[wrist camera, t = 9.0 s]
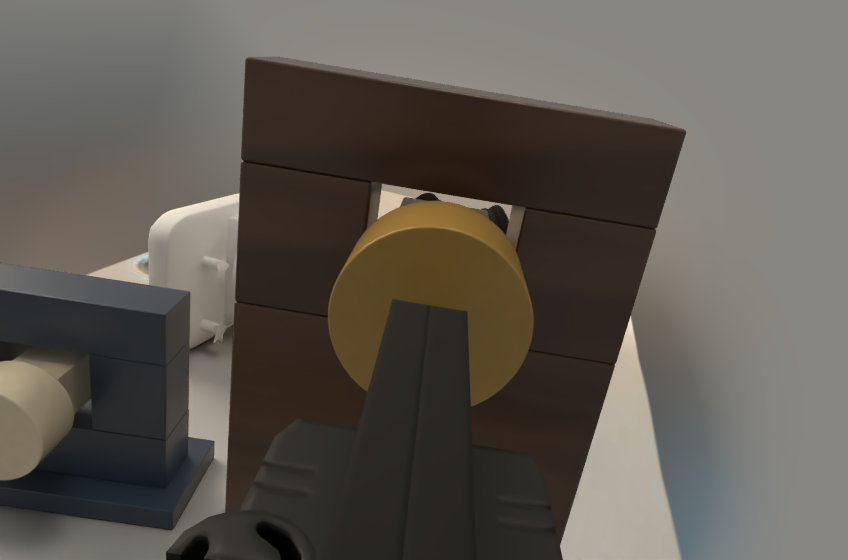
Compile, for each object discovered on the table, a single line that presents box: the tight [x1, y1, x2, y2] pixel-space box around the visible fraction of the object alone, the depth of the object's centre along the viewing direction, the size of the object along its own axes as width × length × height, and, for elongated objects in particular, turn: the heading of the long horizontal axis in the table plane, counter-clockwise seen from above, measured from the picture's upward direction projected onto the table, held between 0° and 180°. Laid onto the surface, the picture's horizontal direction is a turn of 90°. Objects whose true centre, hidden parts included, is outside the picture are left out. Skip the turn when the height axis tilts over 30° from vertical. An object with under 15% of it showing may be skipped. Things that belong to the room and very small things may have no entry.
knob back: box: [0, 346, 91, 480], centre depth 29 cm, size 6×5×5 cm
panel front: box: [225, 57, 686, 544], centre depth 22 cm, size 6×14×24 cm, turn 87°
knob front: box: [328, 197, 533, 406], centre depth 17 cm, size 6×5×5 cm
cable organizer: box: [148, 193, 240, 349], centre depth 48 cm, size 15×11×12 cm
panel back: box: [0, 262, 214, 529], centre depth 31 cm, size 6×14×12 cm, turn 88°
